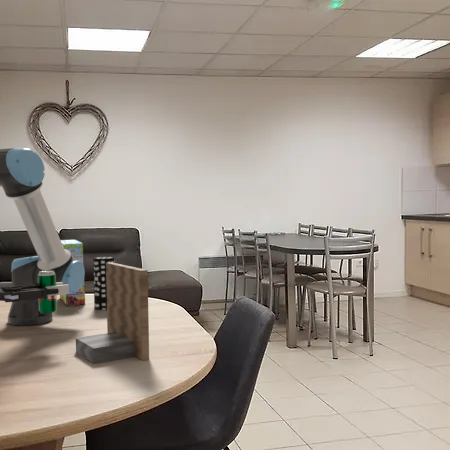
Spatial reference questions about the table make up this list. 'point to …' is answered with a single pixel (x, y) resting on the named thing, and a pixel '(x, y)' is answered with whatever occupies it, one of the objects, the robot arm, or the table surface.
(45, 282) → the soda can
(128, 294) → the wall board
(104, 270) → the spotted tube
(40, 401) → the table surface
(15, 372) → the table surface
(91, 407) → the table surface
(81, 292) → the snack box
